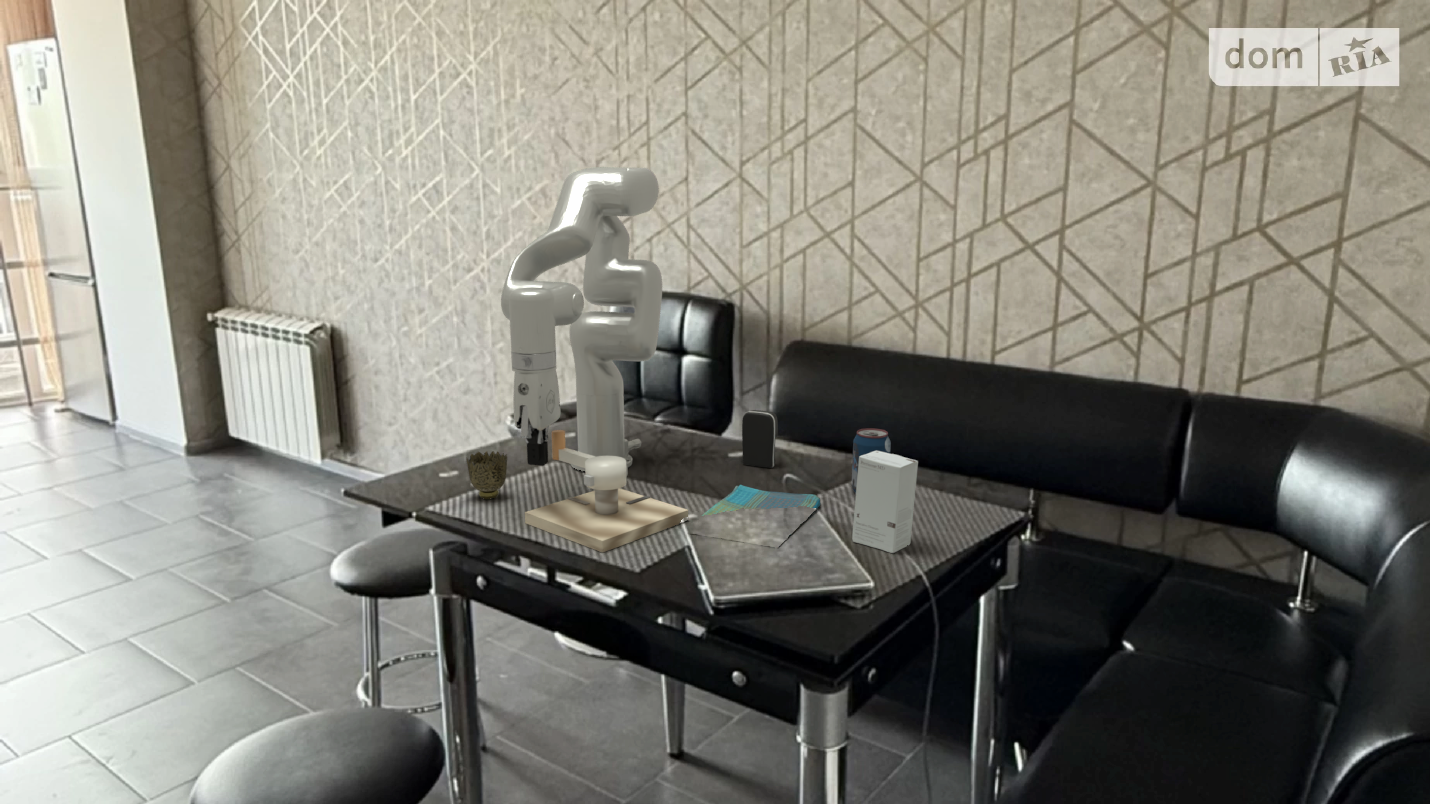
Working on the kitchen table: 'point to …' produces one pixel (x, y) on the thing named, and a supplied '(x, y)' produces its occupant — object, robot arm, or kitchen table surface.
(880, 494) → the skincare box
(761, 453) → the battery charger
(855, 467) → the soda can
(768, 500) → the dish towel
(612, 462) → the crank handle
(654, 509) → the post board
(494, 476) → the cup
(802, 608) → the kitchen table surface
